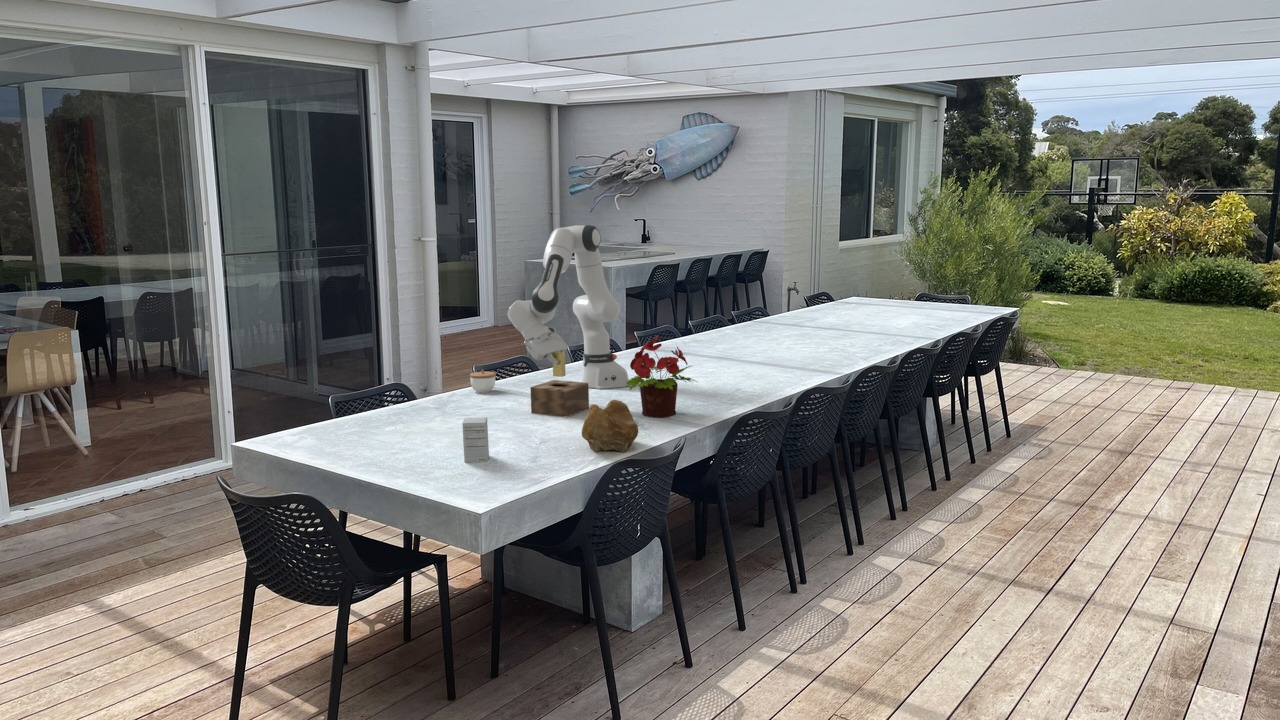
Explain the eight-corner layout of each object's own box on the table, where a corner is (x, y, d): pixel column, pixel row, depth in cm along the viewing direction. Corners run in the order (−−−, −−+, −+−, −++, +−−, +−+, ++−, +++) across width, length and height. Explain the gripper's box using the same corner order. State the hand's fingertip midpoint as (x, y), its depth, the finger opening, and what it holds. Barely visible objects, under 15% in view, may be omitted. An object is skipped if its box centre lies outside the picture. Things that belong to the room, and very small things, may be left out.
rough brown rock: (619, 462, 295) (623, 415, 293) (573, 452, 302) (576, 406, 300) (652, 447, 316) (655, 403, 313) (608, 438, 323) (611, 395, 320)
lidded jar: (498, 389, 409) (498, 367, 407) (492, 394, 399) (491, 372, 397) (474, 389, 410) (473, 367, 409) (467, 394, 400) (466, 372, 398)
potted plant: (650, 404, 374) (649, 328, 369) (709, 412, 359) (708, 333, 354) (604, 418, 351) (602, 338, 346) (665, 428, 335) (664, 343, 330)
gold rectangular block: (553, 376, 363) (552, 352, 361) (556, 374, 365) (555, 351, 364) (562, 376, 361) (561, 353, 360) (565, 375, 363) (564, 352, 362)
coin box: (531, 413, 362) (530, 387, 360) (553, 404, 376) (553, 379, 374) (567, 416, 355) (566, 390, 353) (589, 408, 369) (588, 382, 367)
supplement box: (465, 456, 302) (464, 417, 300) (489, 455, 303) (487, 416, 300) (463, 462, 295) (461, 422, 293) (487, 461, 295) (486, 422, 293)
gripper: (527, 334, 354) (550, 362, 351) (556, 327, 372) (578, 353, 369) (517, 345, 357) (540, 373, 354) (547, 338, 375) (569, 364, 372)
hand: (560, 363), depth 362 cm, fingers closed on gold rectangular block, 2 cm apart
